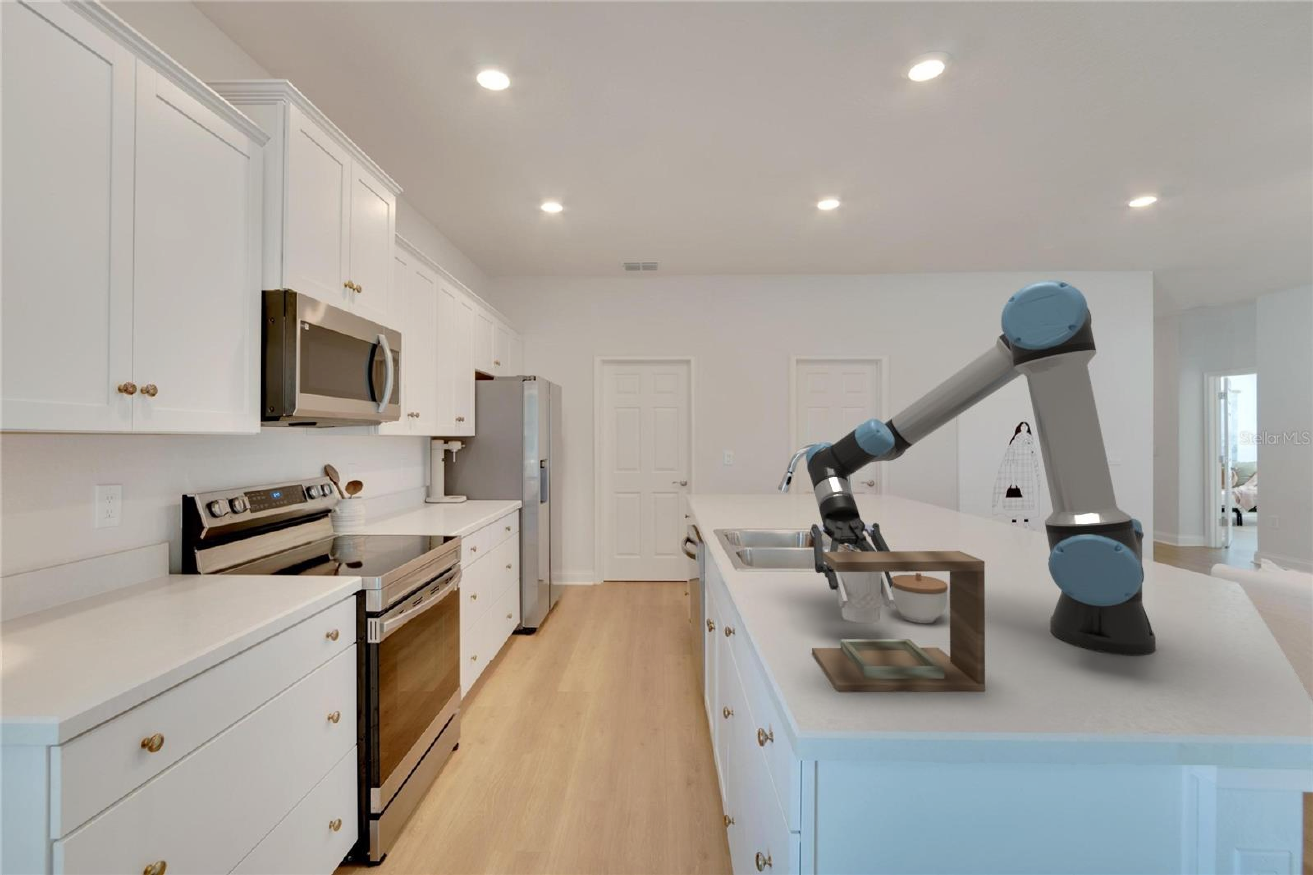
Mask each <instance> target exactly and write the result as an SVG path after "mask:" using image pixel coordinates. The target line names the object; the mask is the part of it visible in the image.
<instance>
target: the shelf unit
mask: <svg viewBox="0 0 1313 875" xmlns="http://www.w3.org/2000/svg"><path fill="white" fill-rule="evenodd" d="M823 561H824V564H827V565H829V566H830V567H831V568H832V569H834V570H835V571H836V572H889V573H893V572H894V573H899V572H905V573H906V572H908V573H909V572H910V573H913V572H914V573H915V572H916V573H921V572H925V573H926V572H949V653H950V654H949V655H948V654H947V653H945V652H944V651H943V650H942V649H940V648H939V647H919V646H918V645H917V644H916V643H915V642H913V641H912V640H911V639H909V638H898V639H897V638H892V639H891V638H889V639H888V638H887V639H886V638H883V639H882V638H879V639H878V638H877V639H876V638H874V639H873V638H872V639H870V638H869V639H868V638H866V639H864V638H863V639H862V638H861V639H858V638H857V639H856V638H855V639H853V638H852V639H851V638H850V639H845V638H844V639H840V647H812V648H811V655H812V657H814V659H815V660H816V662H817V663H818V665H819V667H821V669H822V671H823V672H824V674H825V675H826V677H827V678H828V679H829V681H830V682H831V684H832V686H833V687H834V688H835V690H836V691H837V692H843V693H844V692H846V691H847V692H849V691H850V692H985V691H986V655H985V654H986V632H985V630H986V625H985V624H986V618H985V615H986V611H985V610H986V609H985V608H986V606H985V605H986V604H985V602H986V600H985V599H986V598H985V596H986V595H985V594H986V592H985V586H986V584H985V574H986V573H985V572H986V571H985V570H986V569H985V568H986V567H985V566H986V565H985V562H986V561H985V560H983V559H980V558H978V557H975V556H973V555H970V554H967V553H966V552H963V551H960V550H921V551H920V550H918V551H917V550H916V551H915V550H908V551H905V550H904V551H903V550H899V551H897V550H896V551H891V550H890V551H877V550H876V552H861V551H837V552H830V551H823Z"/></svg>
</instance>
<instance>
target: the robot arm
mask: <svg viewBox="0 0 1313 875" xmlns="http://www.w3.org/2000/svg"><path fill="white" fill-rule="evenodd" d="M1000 317H1001V320H1000V321H1001V323H1000V326H1001V330H1002V332H1003V333H1002V334H1001V335H1000V336H998V337H997V340H996V344H995V345H994V346H993V347H991V348H990V349H988V350H987V351H985V352H984V353H983V354H981V355H979V356H978V357H977V358H976V359H974V360H972V361H971V362H970V363H968V364H967V365H966V366H964V367H963V368H962V369H959V371H957V372H956V373H954V374H953V375H951V376H950V377H948V378H947V379H945V380H944V381H943V382H941V383H940V384H938V385H937V386H936V387H934V388H933V389H931V390H930V391H928V392H927V393H926V394H924V395H923V396H921V397H920V398H919V399H918V400H915V401H913V403H912V404H910V405H909V406H907V407H906V408H905V409H903V410H902V411H900V412H899V413H897V414H896V415H894V416H893V417H892V418H890V419H889V420H888V421H886V422H885V423H884V422H883V421H880V419H878V418H870V419H868V420H867V421H866V422H864V423H862V424H861V423H860V424H859V425H858V426H857V427H856V428H855V429H853V430H852V431H850V432H849V433H848V434H846V435H845V436H844V437H842V438H841V439H839V440H838V441H837V442H835V443H831V442H825V441H823V442H820V443H819V444H813V445H812V446H811V447H809V448H808V450H807V451H806V453H805V454H806V455H805V460H806V461H805V462H806V468H807V472H808V474H809V477H810V481H811V484H812V487H813V491H814V495H815V496H814V497H815V499H816V503H817V507H818V510H819V514H820V518H821V522H822V524H821V525H818V524H816V523H813V524H812V525H811V528H810V531H809V536H810V537H811V539H812V541H813V542H812V543H813V558H814V572H815V573H817V574H821V573H822V574H824V577H825V578H826V579H827V582H828V585H829V588H830V590H831V591H834V590H835V593H836V597H837V601H838V605H839V608H840V609H841V608H845V605H846V603H847V601H848V600H847V597H846V593H845V589H844V586H843V582H842V579H841V575H840V573H839V572H836V571H835V570H834V569H832V568H831V567H830V566H829V565H827V564H826V563H825V562H824V561H823V552H824V549H823V533H824V534H825V535H827V537H829V538H830V539H831V542H830V549H829V552H839V551H838V550H839V546H840V545H846V544H848V545H853V546H854V547H855V548H856V549H858V550H859V552H876V551H891V550H890V548H889V547H888V545H887V543H886V540H885V539H884V537H883V536H882V533H881V529H880V524H879V523H877V522H874V523H873V524H872V525H871V524H865V522H864V521H863V520H862V519H861V516H860V513H859V509H858V506H857V504H856V500H855V497H854V494H853V491H852V488H851V486H850V482H849V478H848V477H850V476H852V474H855V473H856V472H857V471H859V470H861V469H862V468H864V467H865V466H867V465H868V464H869V465H870V463H876V462H883V461H885V462H890V461H894V460H896V459H898V458H900V457H901V456H903V455H904V454H905V452H906V451H907V450H908V449H910V448H911V447H913V445H915V444H916V443H918V442H920V441H921V440H923V439H924V438H926V437H927V436H929V435H930V434H932V433H933V432H935V431H936V430H938V429H940V428H941V427H943V426H944V425H946V424H947V423H949V422H950V421H952V420H953V419H956V418H957V417H958V416H960V415H961V414H962V413H964V412H966V411H967V410H969V409H971V408H972V407H973V406H976V405H977V404H978V403H980V402H981V401H983V400H984V399H986V398H988V397H989V396H990V395H992V394H994V393H995V392H997V391H999V390H1000V389H1002V387H1005V386H1006V385H1008V384H1009V383H1010V382H1012V381H1013V380H1015V379H1017V378H1018V377H1020V376H1021V375H1024V376H1025V378H1026V381H1027V386H1028V387H1027V388H1028V390H1029V396H1030V401H1031V406H1032V411H1033V416H1034V421H1035V426H1036V430H1037V436H1038V442H1039V447H1040V451H1041V455H1042V456H1041V457H1042V462H1043V466H1044V467H1043V468H1044V471H1045V477H1046V481H1047V486H1048V491H1049V497H1050V501H1051V508H1052V513H1051V514H1050V515H1049V516H1048V517H1047V518H1046V519H1045V520H1044V525H1045V530H1046V531H1045V532H1046V536H1047V537H1046V538H1047V541H1048V547H1049V556H1048V563H1047V564H1048V571H1049V573H1050V577H1051V578H1052V580H1053V582H1054V584H1055V585H1056V586H1057V587H1058V589H1060V590H1061V592H1060V595H1059V598H1058V600H1057V602H1056V604H1055V605H1056V606H1055V607H1054V611H1053V615H1052V616H1050V623H1049V624H1050V626H1049V627H1050V628H1049V630H1050V633H1051V634H1052V635H1053V636H1054V637H1056V638H1058V639H1059V640H1062V641H1064V642H1066V643H1070V644H1072V645H1074V646H1078V647H1081V648H1084V649H1089V650H1093V651H1098V652H1102V653H1110V654H1115V655H1116V654H1117V655H1125V656H1126V655H1127V656H1140V655H1141V656H1143V655H1150V654H1153V653H1154V652H1155V651H1156V646H1157V644H1156V635H1155V633H1154V631H1153V628H1152V626H1151V623H1150V620H1149V616H1148V615H1147V613H1146V609H1145V608H1144V604H1143V583H1144V579H1145V572H1144V567H1143V538H1144V532H1143V527H1142V525H1143V524H1142V523H1141V522H1140V521H1139V520H1138V519H1136V518H1132V516H1131V515H1130V514H1128V513H1126V512H1125V511H1123V510H1121V509H1120V508H1119V507H1118V504H1117V502H1116V496H1115V491H1114V487H1113V483H1112V482H1113V481H1112V477H1111V472H1110V467H1109V462H1108V458H1107V453H1106V449H1105V443H1104V439H1103V433H1102V428H1101V425H1100V420H1099V415H1098V411H1097V410H1098V409H1097V404H1096V401H1095V396H1094V392H1093V386H1092V382H1091V376H1090V371H1089V367H1088V365H1089V363H1090V361H1091V360H1092V359H1093V358H1094V357H1095V355H1096V354H1097V348H1096V344H1095V338H1094V335H1093V334H1094V333H1093V329H1092V313H1091V312H1090V309H1089V307H1088V302H1087V299H1086V297H1085V296H1084V293H1082V292H1081V290H1079V289H1078V288H1077V287H1075V286H1073V285H1071V284H1069V283H1066V282H1063V281H1059V280H1041V281H1036V282H1032V283H1030V284H1027V285H1026V286H1024V287H1022V288H1020V289H1019V290H1017V291H1016V292H1015V293H1014V294H1012V296H1011V297H1010V298H1009V299H1008V301H1007V302H1006V304H1005V305H1004V307H1003V309H1002V312H1001V316H1000ZM864 532H866V533H867V536H868V537H869V538H870V540H871V543H872V544H873V546H872V544H871V543H870V542H869V541H868V540H867V537H866V535H865V534H864ZM890 573H891V572H882V579H881V596H882V597H881V598H882V600H883V603H884V606H885V608H890V607H892V604H893V601H894V598H893V595H892V593H891V587H892V584H893V582H892V579H891V578H892V577H891V574H890Z"/></svg>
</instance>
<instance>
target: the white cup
mask: <svg viewBox="0 0 1313 875" xmlns="http://www.w3.org/2000/svg"><path fill="white" fill-rule="evenodd" d="M839 573H840V575H841V579H842V582H843V586H844V589H845V593H846V597H847V600H848V601H847V603H846V605H845V608H840V612H841V616H842V617H841V618H843V619H844V620H846V621H849V622H853V623H857V624H858V623H859V624H873V623H876V622H878V621H880V619H881V601H882V597H881V596H882V594H881V579H882V572H839Z"/></svg>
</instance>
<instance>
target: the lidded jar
mask: <svg viewBox="0 0 1313 875" xmlns="http://www.w3.org/2000/svg"><path fill="white" fill-rule="evenodd" d="M891 579H892V582H893V584H892V587H891V588H890V590H891V593H892V595H893V598H894V601H893V602H892V604H893V606H894V608H895V609H896V611H898V612H899V614H900V615H901V616H902V618H903V619H904V620H907V621H908V622H912V623H918V624H933V623H934V622H936V620H937V619H938V618H939V617H941V615H942V614H943V613H944V612H945V611H944V610H945V608H946V605H947V601H948V600H947V598H948V587H949V586H948V583H947V582H946V581H944V580H943V579H942V580H941V579H938V578H936V577H931V576H927V575H926V576H925V575H922V573H921V572H916V573H915V574H898V575H895V576H894V575H893V576H892V577H891Z"/></svg>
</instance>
